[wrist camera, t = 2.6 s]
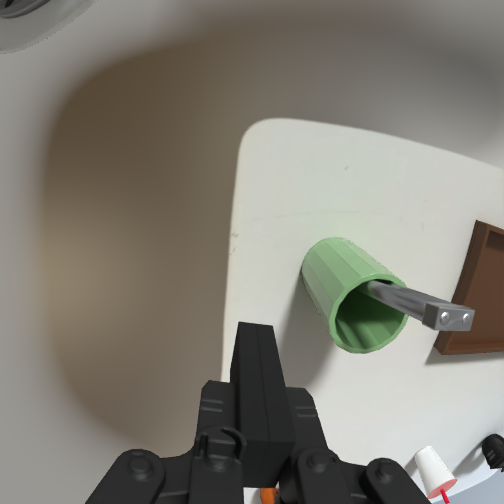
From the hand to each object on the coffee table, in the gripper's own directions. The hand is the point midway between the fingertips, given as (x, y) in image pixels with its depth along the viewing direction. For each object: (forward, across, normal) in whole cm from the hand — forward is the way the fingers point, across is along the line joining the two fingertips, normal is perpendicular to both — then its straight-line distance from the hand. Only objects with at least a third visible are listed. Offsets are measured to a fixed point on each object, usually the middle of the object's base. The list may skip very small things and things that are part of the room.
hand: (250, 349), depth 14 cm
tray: (+14, +44, 0) cm, 46 cm away
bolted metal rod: (+5, +8, +2) cm, 10 cm away
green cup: (+14, +8, 0) cm, 16 cm away
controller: (+14, +57, -32) cm, 66 cm away
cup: (+14, +35, -29) cm, 48 cm away
